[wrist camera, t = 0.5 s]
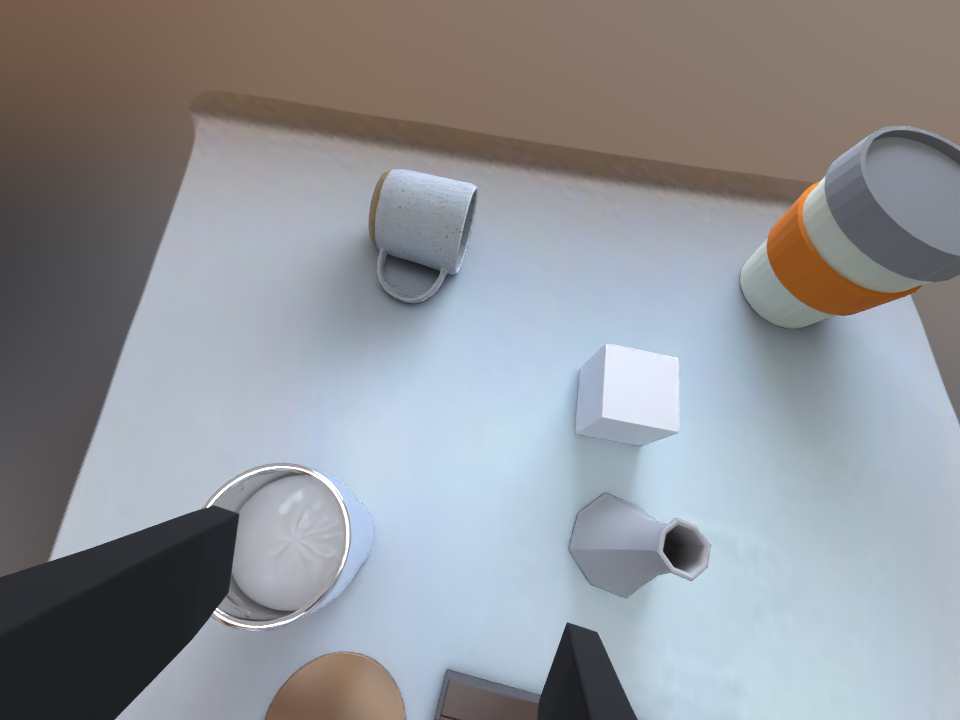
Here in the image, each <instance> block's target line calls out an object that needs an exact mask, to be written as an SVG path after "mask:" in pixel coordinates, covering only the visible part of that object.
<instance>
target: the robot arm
mask: <svg viewBox="0 0 960 720" xmlns="http://www.w3.org/2000/svg"><path fill="white" fill-rule="evenodd" d="M238 521H239V513H236V512H233V511H230V510H227V509H224V508H221V507H218V506H215V505H213V506H210V507H207V508H204V509H200V510H197V511H194V512H191V513H189V514H186V515H183V516H180V517H177V518H174V519H172V520H169V521H166V522H163V523H160V524H158V525H155V526H152V527H149V528H147V529H144V530H141V531H138V532H135V533H133V534H130V535H127V536H124V537H121V538H118V539H116V540H113V541H110V542H107V543H104V544H102V545H99V546H96V547H93V548H90V549H87V550H84V551H81V552H78V553H75V554H72V555H69V556H66V557H62V558H59V559H56V560H53V561H50V562H47V563H44V564H41V565H38V566H35V567H31V568H28V569H25V570H22V571H19V572H16V573H13V574H10V575H6V576H3V577H0V720H115V719H116V718H117V717H118V715H119V714H120V713H121V712H122V711H123V710H124V709H125V708H126V707H127V706H128V705H129V704H130V703H131V702H132V701H133V700H134V699H135V698H136V697H137V696H138V695H139V694H140V693H141V692H142V691H143V690H144V689H145V688H146V687H147V686H148V685H149V684H150V683H151V682H152V681H153V680H154V679H155V678H156V677H157V675H158V674H159V673H160V672H161V671H162V670H163V669H164V668H165V667H166V666H167V665H168V664H169V663H170V662H171V661H172V660H173V659H174V658H175V657H176V656H177V655H178V654H179V653H180V652H181V651H182V649H183V648H184V647H185V646H186V645H187V644H188V643H189V642H190V641H191V640H192V639H193V638H194V636H195V635H196V634H197V633H198V631H199V630H200V629H201V628H202V626H203V625H204V624H205V623H206V621H207V620H208V619H209V618H210V616H211V615H212V614H213V613H214V611H215V610H216V609H217V607H218V606H219V605H220V603H221V602H222V601H223V599H224V598H225V597H226V596H227V594H228V593H229V588H230V580H231V573H232V565H233V558H234V551H235V543H236V536H237V529H238ZM537 720H637V718H636V716H635V714H634V711H633V709H632V707H631V705H630V703H629V701H628V699H627V696H626V694H625V692H624V690H623V688H622V686H621V683H620V681H619V679H618V677H617V675H616V672H615V670H614V668H613V666H612V663H611V661H610V659H609V657H608V654H607V652H606V650H605V648H604V645H603V643H602V641H601V639H600V637H599V635H598V633H597V632H595V631H592V630H589V629H586V628H583V627H580V626H577V625H574V624H571V623H568V622H567V624H566V627H565V629H564V632H563V635H562V638H561V641H560V643H559V646H558V649H557V652H556V655H555V658H554V660H553V663H552V666H551V669H550V672H549V674H548V677H547V680H546V683H545V686H544V688H543V691H542V694H541V697H540V700H539V707H538V718H537Z"/></svg>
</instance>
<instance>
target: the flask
mask: <svg viewBox="0 0 960 720" xmlns="http://www.w3.org/2000/svg"><path fill="white" fill-rule="evenodd" d="M710 549H711V545H710V543H709V542H708V540H707V539H706V538H705V536H704V535H703V533H702V532H701V531H700V529H699V528H698V526H696V525H694V524H691V523H689V522H686V521H684V520H681V519H679V518H674V519H673V520H671V521H670V522H669V523H668V524H664V523H659V522H658V521H656V520H655V519H654V518H652V517H651V516H650V515H649V514H647V513H646V512H645V511H644V510H643V509H642V508H640V507H639V506H637V505H634V504H632V503H629V502H627V501H624V500H622V499H620V498H617V497H615V496H612V495H610V494H607V493H605V494H603V495H602V496H601V497H599V498H598V499H596V500H595V501H594V502H592V503H591V504H590V505H588V506H587V507H586V508H584V509H583V510H581V511H580V512H579V513H578V516H577V520H576V524H575V527H574V531H573V535H572V539H571V542H570V546H569V551H570V552H571V554H572V556H573V557H574V559H575V560H576V562H577V563H578V565H579V567H580V568H581V570H582V571H583V573H584V575H585V576H586V578H587V579H588V581H589V582H590V584H592V585H594V586H597V587H599V588H601V589H604V590H606V591H609V592H611V593H614V594H616V595H619V596H621V597H624V598H627V597H629V596H630V595H631V594H633V593H634V592H635V591H636V590H638V589H639V588H640V587H641V586H643V585H644V584H646V583H647V582H649V581H650V580H652V579H653V578H655V577H656V576H658V575H661V574H666V573H673V574H675V575H678V576H680V577H683V578H685V579H687V580H690V581H693V580H694V579H695V578H696V577H697V576H699V575H700V574H701V573H702V572H703V571H704V570H705V569H706V568H708V562H709V555H710Z"/></svg>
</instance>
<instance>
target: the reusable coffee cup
mask: <svg viewBox="0 0 960 720" xmlns="http://www.w3.org/2000/svg"><path fill="white" fill-rule="evenodd" d="M958 275H960V147H959V146H957V145H956V144H954V143H952V142H950V141H948V140H946V139H945V138H943V137H941V136H938V135H936V134H934V133H931V132H928V131H925V130H922V129H918V128H914V127H907V126H889V127H886V128H882V129H879V130H877V131H875V132H874V133H872V134H871V135H869V136H868V137H866V138H865V139H864V140H863V141H861V142H859V143H858V144H857V145H856V146H854V147H853V148H851V149H850V150H849V151H847V152H846V153H844V154H843V155H842V156H840V157H839V158H838V159H836V160H835V161H834V162H833V164H832V165H831V166H830V167H829V169H828V172H827V174H826V176H825V178H824V179H823V180H822V181H820V182H818V183H815V184H814V185H812V186H810V187H809V188H808V189H807V190H806V191H805V192H804V193H803V194H802V195H801V196H800V197H799V199H798V200H797V201H796V202H795V203H794V204H793V205H792V206H791V207H790V208H789V210H788V211H787V212H786V213H785V214H784V215H783V216H782V217H781V218H780V219H779V220H778V222H777V223H776V224H775V225H774V226H773V227H772V228H771V230H770V233H769V235H768V238H767V240H766V241H765V242H764V243H763V244H762V245H761V246H760V247H759V249H758V250H757V251H756V252H755V253H754V254H753V255H752V256H751V257H750V258H749V259H748V260H747V262H746V263H745V264H744V266H743V268H742V270H741V275H740V284H741V288H742V292H743V294H744V296H745V298H746V300H747V301H748V303H749V304H750V306H751V307H752V308H753V309H754V310H755V311H756V312H757V313H758V314H759V315H760V316H761V317H763V318H764V319H766V320H767V321H769V322H770V323H772V324H775V325H777V326H780V327H784V328H792V329H796V328H802V327H805V326H808V325H811V324H814V323H816V322H819V321H822V320H825V319H828V318H830V317H833V316H836V315H842V316H845V315H851V314H855V313H858V312H861V311H864V310H867V309H870V308H873V307H876V306H879V305H881V304H884V303H887V302H890V301H893V300H896V299H899V298H902V297H905V296H907V295H909V294H912V293H914V292H915V291H917V290H918V289H919V288H920V287H921V286H922V285H923V284H926V283H929V282H938V281H945V280H949V279H951V278H953V277H956V276H958Z"/></svg>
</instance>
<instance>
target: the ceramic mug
mask: <svg viewBox="0 0 960 720" xmlns="http://www.w3.org/2000/svg"><path fill="white" fill-rule="evenodd" d="M476 202H477V187H476V186H475V185H474V184H470V183H465V182H460V181H456V180H451V179H447V178H442V177H438V176H433V175H428V174H423V173H419V172H415V171H410V170H402V169H391V170H388V171H386V172H385V173H384V174H382V176H381V177H380V179H379V180H378V182H377V184H376V187H375V190H374V193H373V197H372V201H371V206H370V213H369V234H370V238H371V240H372V242H373V244H374V245H375V246H376V247H377V248H378V249H379V250H380V252H379V255H378V259H377V276H378V279H379V281H380V284H381V286H382V287H383V288H384V290H385V291H386V292H387V293H388V294H390V295H391V296H392V297H394V298H396V299H398V300H400V301H403V302H407V303H419V302H423V301H425V300H427V299H428V298H430V297H431V296H432V295H434V294H435V293H436V292H437V290H438V289H439V287H440V286H441V284H442V282H443V281H444V279H445V276H446V275H447V273H449V274H456V273H457V272H458V271H459V269H460V267H461V264H462V261H463V259H464V255H465V252H466V249H467V245H468V242H469V237H470V233H471V229H472V225H473V221H474V214H475V208H476ZM388 254H389V255H392V256H395V257H398V258H403V259H406V260H410V261H413V262H416V263H418V264H422V265H424V266H427V267H430V268H432V269H436V270H439V271H440V275H439V277H438V278H437V280H436V281H435V283H434V284H433V285H432V286H431V288H430V289H428V290H427V291H425V292H424V293H422V294H419V295H418V296H416V297H413V296H410V295H408V294H405V293H403V292H401V291H399V290H397V288H396V286H391V285H390V284H389V283H387V282H386V279H385V276H384V272H385V271H384V266H385V259H386V256H387V255H388Z"/></svg>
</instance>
